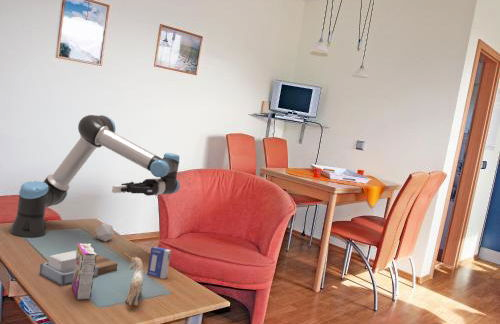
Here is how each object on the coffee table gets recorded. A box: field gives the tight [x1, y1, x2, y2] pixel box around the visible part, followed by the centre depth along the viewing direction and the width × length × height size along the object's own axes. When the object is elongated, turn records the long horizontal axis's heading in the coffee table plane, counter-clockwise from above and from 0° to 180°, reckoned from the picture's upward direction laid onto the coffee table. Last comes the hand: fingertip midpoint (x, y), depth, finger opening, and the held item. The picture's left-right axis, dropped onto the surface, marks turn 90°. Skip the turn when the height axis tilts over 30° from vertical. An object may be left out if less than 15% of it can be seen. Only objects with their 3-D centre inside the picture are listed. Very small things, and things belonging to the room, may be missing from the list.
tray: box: [39, 261, 99, 286], centre depth 172 cm, size 13×16×4 cm
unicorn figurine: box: [124, 252, 145, 307], centre depth 162 cm, size 7×20×13 cm, turn 24°
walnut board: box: [95, 254, 119, 277], centre depth 184 cm, size 12×10×3 cm
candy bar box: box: [71, 242, 98, 301], centre depth 159 cm, size 11×5×16 cm, turn 30°
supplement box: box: [48, 249, 77, 274], centre depth 172 cm, size 7×7×13 cm
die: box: [94, 222, 115, 242], centre depth 220 cm, size 8×9×10 cm
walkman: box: [146, 245, 172, 280], centre depth 187 cm, size 8×3×12 cm, turn 78°
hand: (113, 189), depth 187 cm, fingers closed
